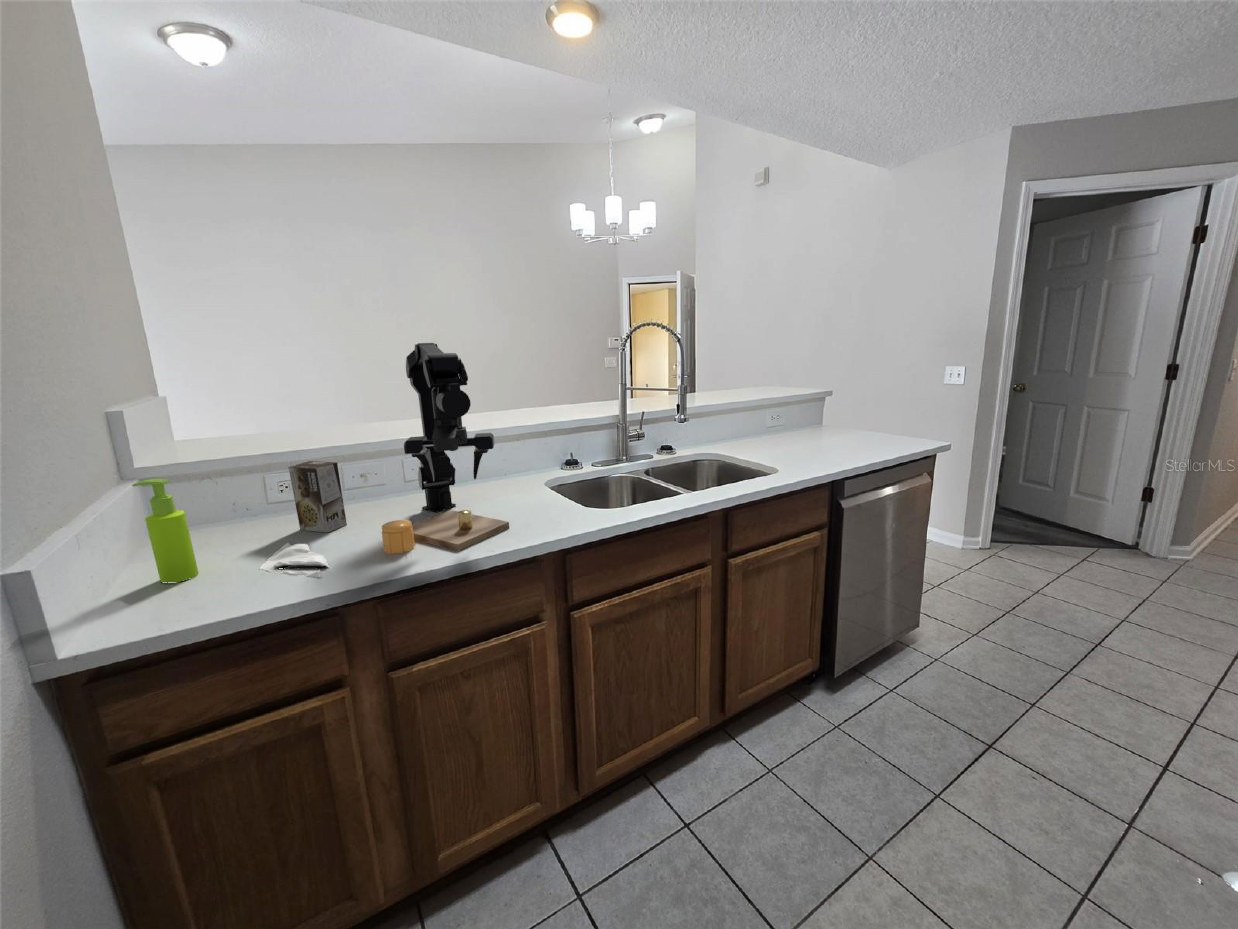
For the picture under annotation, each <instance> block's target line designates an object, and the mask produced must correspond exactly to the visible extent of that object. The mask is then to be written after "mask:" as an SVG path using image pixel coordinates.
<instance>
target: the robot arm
mask: <svg viewBox="0 0 1238 929" xmlns="http://www.w3.org/2000/svg"><path fill="white" fill-rule="evenodd" d="M405 373H406V377H407V379H409V382H410V386H411V387H412V388H413V390H414V391H415V393H416V394H417V396H418V405H419V411H420V418H421V428H422V435H421V436H410V437H409V438H407V439H406V441H405V442H404V443H403V449H404V454H405V455H410V454H411V458H416V459H418V461H419V464H420V466H419V467H418V476H417V480H418V486H419V487H420V489H421V490H422V491H424V494H425V503H426V505H424V506H422V507H421V509H422V510H425V511H428V512H429V511H430V512H435V513H439V512H442V511H445V510H448V509H451V508H453V507H455V506H457V504H456V503H454V502H453V501H452V494H451V489H450V488H451V487H450V486H455V484H456V468H455V467H454V465H453V463H452V462H451V458H450V457H449V455H448V454H447V453H446V452H445V451H450V452H456V451H458V449H459V447H474V450H473V471H472V472H473V473H472V474H473V480H476V479H477V477H478V472H479V467H480V464H481V461H482V460H481V459H482V457H483V455H484V454H487V453H488V452H489V450H493V449H494V446H495V436H494V434H493V433H492V432H483V433H475V435H474V436H473V437H468V432H467V427H466V426H463V418H462V417H464V416H465V415H466V414H467V413H468V412H469V411H470V408H471V403H472V402H471V399H470V397H469V395H468V394H467V393H466V392H465V391H464V390H462V389H461V386H462V387H463V386H468V382H469V377H468V376H469V375H468V373H467V370H466V367H465V364H464V363H463V362H462V359H461V357H459V355H458V354H457V353H455V352H444V351H443V350H441V349H440V348H439V346H438V344H437V343H434V342H419V343H417V344H414V350H412V351H411V352H410V353H409V354H408V355H407V356H406V359H405Z"/></svg>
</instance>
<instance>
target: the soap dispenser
mask: <svg viewBox="0 0 1238 929" xmlns="http://www.w3.org/2000/svg"><path fill="white" fill-rule="evenodd" d="M168 483H170V481H169V479H165V478H153V479H146V480H141V481H138V482H136V483H133V484H131V486H132V487H134V488H135V487H139V486H151V487H152V491H153V496H151V497H150V498H149V504H150V507H151V512H152V514H150V515H147V516H146V517H144V518H145V520H144V521H145V524H146V529H147V532H148V537H149V540H150V543H151V548H152V551H153V557H154V560H155V564H156V565H155V566H156V568H157V569H156V570H157V572H158V573H157V574H158V577H159V581H160V583H161V582H167V583H168V582H180V581H183V580H186V579H189V578H192V579H194V578H196V577H197V576H198V575H199V569H198V565H197V561H196V556H195V551H194V548H193V543H192V539H191V534H190V529H189V525H188V521H187V517H186V512H185V510H182V509H177V508H176V505H175V501H174V496H173V494H169V493H166V492H167V491H166V488H165V484H168ZM196 575H197V576H196ZM195 576H196V577H195ZM193 577H194V578H193ZM189 580H190V579H189ZM183 582H184V581H183ZM180 583H181V582H180Z"/></svg>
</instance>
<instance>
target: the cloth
mask: <svg viewBox="0 0 1238 929" xmlns="http://www.w3.org/2000/svg"><path fill="white" fill-rule="evenodd" d="M326 561H327V559H326V558H325V556H324V555H323V554H319V553H316V552H315V551H313V550H311V549H310V547H309V545H308V543H295V544H293V545H292V544H291V545H290V543H287V542H286V543H285V544H284V545H283V546H282V547H281V548H280V549H279V550H276V551H275V552H274V553H273V554H272V555H271V556H270V557H268V558H266V562H263V564H262V565H261V566H259V568H260V569H262V570H260V569H259V571H265V572H268V573H272V572H277V573H276V574H279V573H280V575H289V576H297V575H304V576H303V577H311V578H317V579H324V576H321V575H320V573H321V569H319V568H320V567H322V568H324V566H325V568H326V567H327V568H328V569H330V566H329V565H328V561H327V562H326ZM297 567H298V568H299V569H298V568H297ZM304 567H306V568H304ZM307 567H308V568H307ZM310 567H312V568H313V569H312V568H310ZM314 567H315V568H317V569H315V568H314ZM279 568H283V569H279ZM284 568H286V569H284ZM281 572H282V573H281Z"/></svg>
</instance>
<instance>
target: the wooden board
mask: <svg viewBox="0 0 1238 929" xmlns="http://www.w3.org/2000/svg"><path fill="white" fill-rule="evenodd" d="M458 512H459V510H453V509H449V510H447V511H444V512H441V513H439V514H436V515H432V516H431V517H427V518H425V519H422V520H420V521H417V522H415V523H412V526H413V534H414V541H418V542H422V543H427V544H430V545H434V544H435V545H434V546H438V545H439V546H438V547H441V548H442V547H443V548H446V549H449V548H450V550H454V551H457V552H459V551H461V550H464V549H466V548H469V547H470V545H471V546H472V544H473V545H475V544H478V543H479V542H481V541H483V540H486V539H487V537H488V538H489V537H490V538H491V537H492V536H494V534H495V535H497V534H499V533H501V532H504V531H505V530H507V528H508V529H510V521H506V520H501V519H496V518H493V517H492V518H491V517H488V516H482V515H477V514H474V513H473V514H472V513H471V515H472V525H473V528H472V529H470V530H466V531H462V530H460V529H459V520H458ZM500 531H501V532H500Z"/></svg>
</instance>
